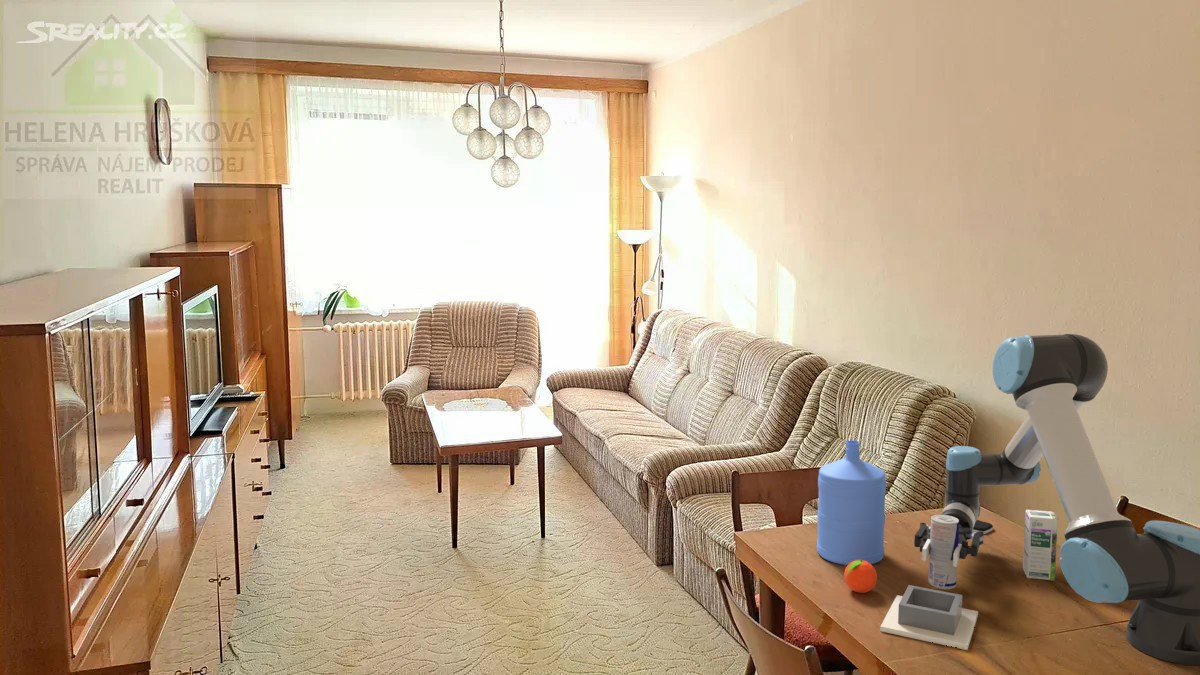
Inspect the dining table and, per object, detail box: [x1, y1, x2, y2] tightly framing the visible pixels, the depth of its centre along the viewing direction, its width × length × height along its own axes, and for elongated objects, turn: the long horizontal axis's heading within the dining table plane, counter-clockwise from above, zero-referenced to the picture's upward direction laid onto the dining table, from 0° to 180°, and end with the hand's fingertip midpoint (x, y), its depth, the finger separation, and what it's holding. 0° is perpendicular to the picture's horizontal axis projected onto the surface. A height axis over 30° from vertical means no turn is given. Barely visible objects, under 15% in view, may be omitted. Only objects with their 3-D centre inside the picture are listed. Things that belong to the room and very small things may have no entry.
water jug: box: [816, 440, 887, 566], centre depth 207 cm, size 16×16×28 cm
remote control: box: [972, 519, 994, 535], centre depth 227 cm, size 6×13×2 cm, turn 41°
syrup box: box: [1022, 509, 1059, 582], centre depth 194 cm, size 6×6×14 cm
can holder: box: [879, 584, 979, 651], centre depth 173 cm, size 16×16×5 cm
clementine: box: [843, 560, 878, 594], centre depth 187 cm, size 8×7×7 cm
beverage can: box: [928, 514, 959, 590], centre depth 185 cm, size 6×6×15 cm
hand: (939, 557), depth 180 cm, fingers closed on beverage can, 5 cm apart
